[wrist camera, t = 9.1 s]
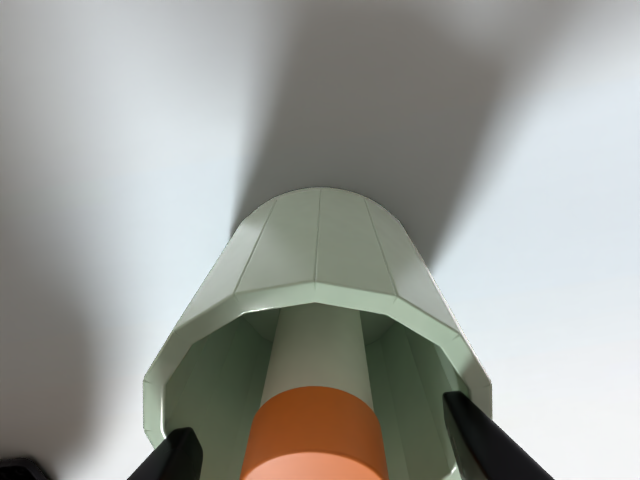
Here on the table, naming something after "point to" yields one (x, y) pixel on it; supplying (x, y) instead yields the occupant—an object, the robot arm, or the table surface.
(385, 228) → the pen holder
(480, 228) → the table surface
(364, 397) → the glue stick
